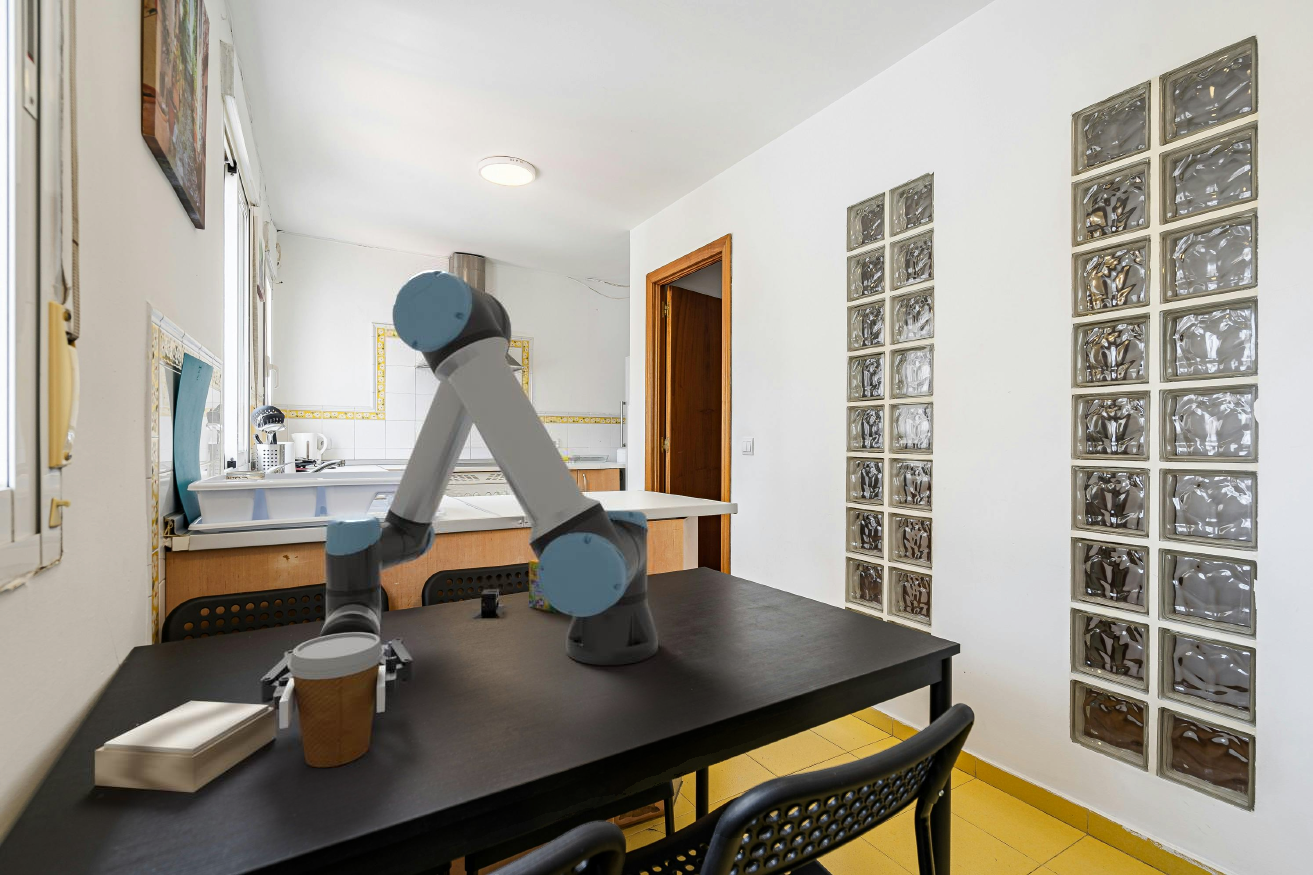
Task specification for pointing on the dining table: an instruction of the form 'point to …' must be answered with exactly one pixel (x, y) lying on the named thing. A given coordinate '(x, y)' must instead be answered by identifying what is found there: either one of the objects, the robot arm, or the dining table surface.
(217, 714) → the plinth
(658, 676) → the dining table surface
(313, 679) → the disposable coffee cup
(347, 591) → the robot arm
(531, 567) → the crayon box
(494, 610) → the black block on base
